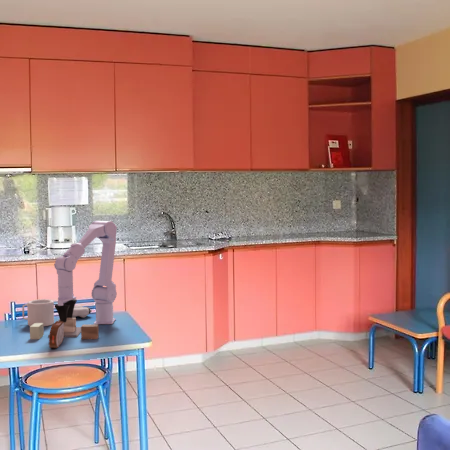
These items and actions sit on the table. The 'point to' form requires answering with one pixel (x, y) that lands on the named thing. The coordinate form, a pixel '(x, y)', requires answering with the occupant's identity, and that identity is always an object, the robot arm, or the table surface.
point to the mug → (40, 312)
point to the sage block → (36, 331)
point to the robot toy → (81, 311)
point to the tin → (56, 334)
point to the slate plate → (72, 333)
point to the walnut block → (90, 331)
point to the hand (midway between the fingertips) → (66, 319)
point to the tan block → (70, 325)
